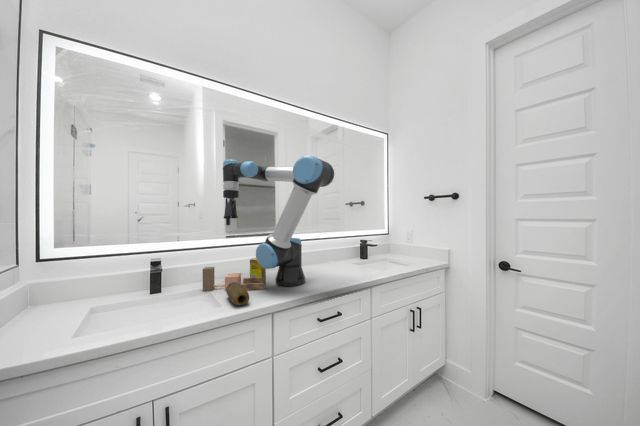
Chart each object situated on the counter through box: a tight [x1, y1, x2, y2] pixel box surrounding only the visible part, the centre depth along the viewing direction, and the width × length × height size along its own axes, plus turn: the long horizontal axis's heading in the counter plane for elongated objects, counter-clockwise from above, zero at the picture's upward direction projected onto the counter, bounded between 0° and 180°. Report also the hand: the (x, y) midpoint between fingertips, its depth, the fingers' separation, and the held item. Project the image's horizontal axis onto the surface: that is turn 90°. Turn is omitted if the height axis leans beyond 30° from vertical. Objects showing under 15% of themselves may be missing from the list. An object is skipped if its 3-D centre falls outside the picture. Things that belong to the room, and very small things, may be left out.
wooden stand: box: [241, 267, 267, 292], centre depth 115 cm, size 11×12×10 cm
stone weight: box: [225, 282, 250, 306], centre depth 96 cm, size 15×7×7 cm, turn 38°
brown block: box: [202, 266, 242, 292], centre depth 113 cm, size 16×7×10 cm, turn 100°
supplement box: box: [249, 257, 262, 278], centre depth 131 cm, size 6×6×11 cm
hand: (231, 231), depth 124 cm, fingers open, 13 cm apart
